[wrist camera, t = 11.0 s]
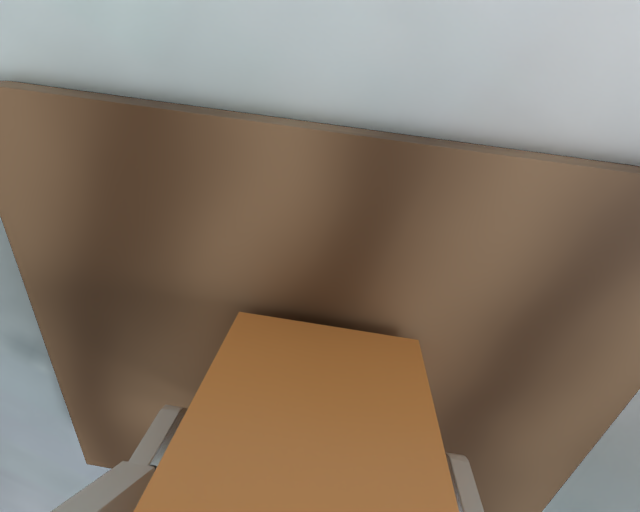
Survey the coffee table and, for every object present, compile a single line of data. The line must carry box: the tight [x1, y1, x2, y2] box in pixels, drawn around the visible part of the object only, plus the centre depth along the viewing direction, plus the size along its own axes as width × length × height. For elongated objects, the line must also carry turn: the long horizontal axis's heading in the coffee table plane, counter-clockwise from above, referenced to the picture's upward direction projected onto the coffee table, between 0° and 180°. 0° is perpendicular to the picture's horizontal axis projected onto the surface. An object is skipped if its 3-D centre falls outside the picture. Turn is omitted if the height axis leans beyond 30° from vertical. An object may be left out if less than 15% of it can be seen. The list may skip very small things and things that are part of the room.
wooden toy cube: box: [134, 312, 459, 512], centre depth 9 cm, size 5×5×6 cm
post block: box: [0, 81, 640, 512], centre depth 11 cm, size 20×16×5 cm
